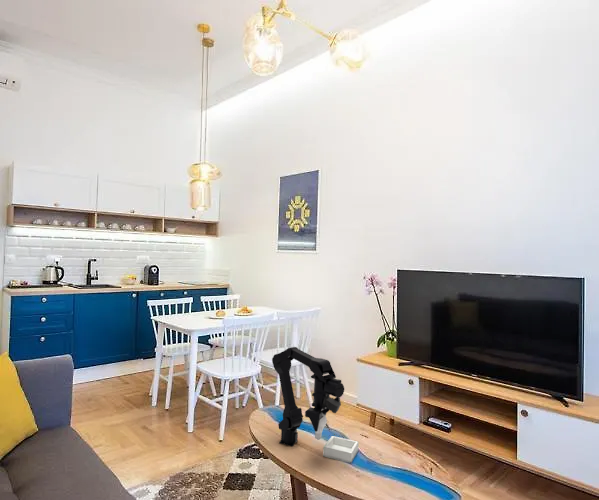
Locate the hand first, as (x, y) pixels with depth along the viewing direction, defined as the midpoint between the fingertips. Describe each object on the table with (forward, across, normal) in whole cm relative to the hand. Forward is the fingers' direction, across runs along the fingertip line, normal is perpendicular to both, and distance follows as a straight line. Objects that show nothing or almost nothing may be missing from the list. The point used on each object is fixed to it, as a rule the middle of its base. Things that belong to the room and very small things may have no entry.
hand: (318, 428), depth 173 cm
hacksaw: (+13, +30, +6) cm, 33 cm away
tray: (+12, +8, -8) cm, 16 cm away
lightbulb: (+5, 0, 0) cm, 5 cm away
